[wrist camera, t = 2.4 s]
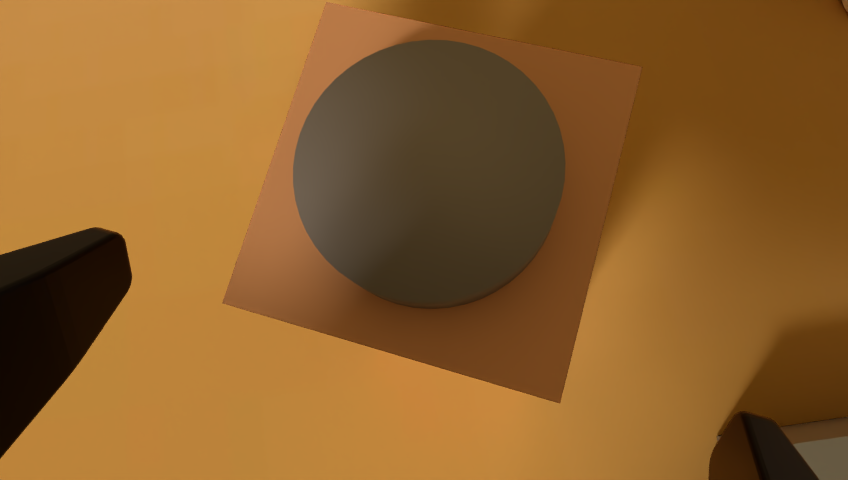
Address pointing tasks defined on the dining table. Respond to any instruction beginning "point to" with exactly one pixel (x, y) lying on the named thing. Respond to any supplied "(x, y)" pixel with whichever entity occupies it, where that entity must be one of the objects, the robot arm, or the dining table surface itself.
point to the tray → (822, 446)
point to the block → (439, 196)
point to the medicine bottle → (845, 4)
